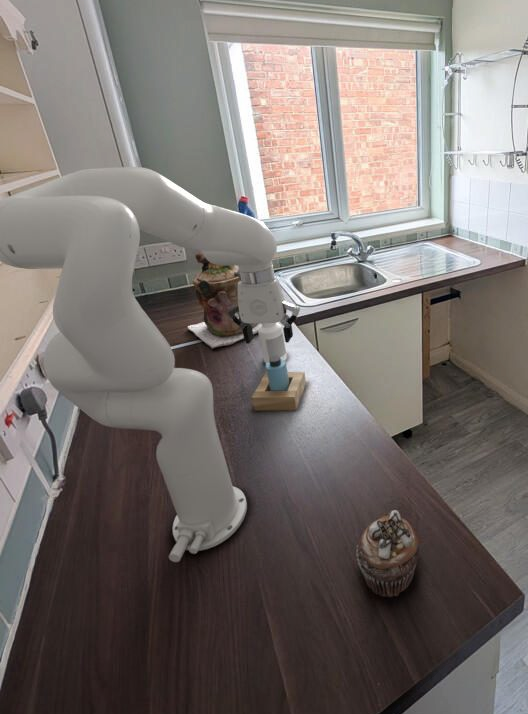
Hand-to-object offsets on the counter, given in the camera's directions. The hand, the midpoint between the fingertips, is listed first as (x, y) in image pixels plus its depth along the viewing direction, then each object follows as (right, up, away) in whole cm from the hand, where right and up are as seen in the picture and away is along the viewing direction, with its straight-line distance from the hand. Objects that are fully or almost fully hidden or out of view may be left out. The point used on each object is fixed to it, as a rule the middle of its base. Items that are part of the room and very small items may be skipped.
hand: (269, 340), depth 99 cm
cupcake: (+29, -32, -35) cm, 56 cm away
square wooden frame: (+1, -16, +7) cm, 17 cm away
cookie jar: (-26, -2, +46) cm, 53 cm away
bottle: (+1, -16, +7) cm, 17 cm away
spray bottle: (-5, -9, +24) cm, 26 cm away
